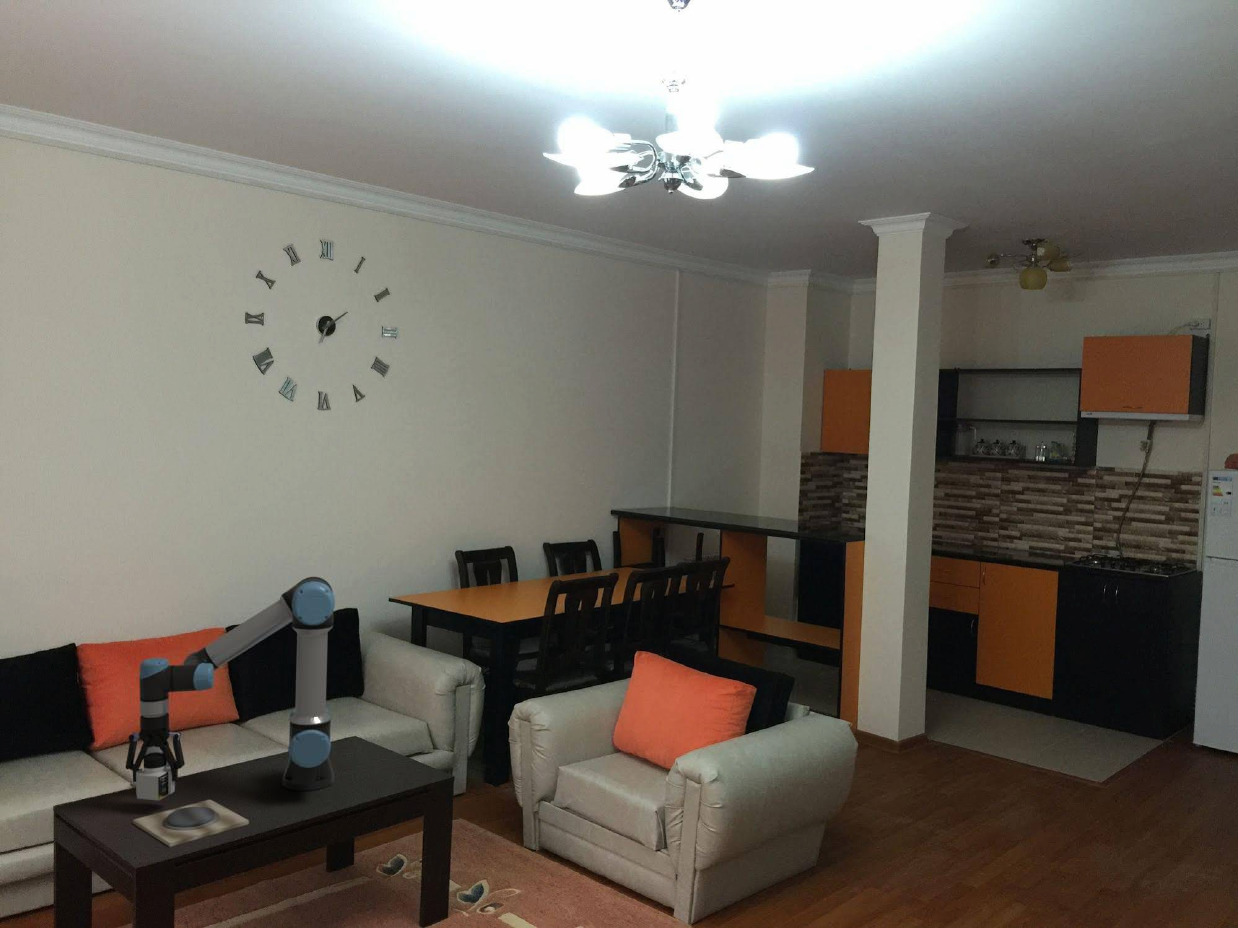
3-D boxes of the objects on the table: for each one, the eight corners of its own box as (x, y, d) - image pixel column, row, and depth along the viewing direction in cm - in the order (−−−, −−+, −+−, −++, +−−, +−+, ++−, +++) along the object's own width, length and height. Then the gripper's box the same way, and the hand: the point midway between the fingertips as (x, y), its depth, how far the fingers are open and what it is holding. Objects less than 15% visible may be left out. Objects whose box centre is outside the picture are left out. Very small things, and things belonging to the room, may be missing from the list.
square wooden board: (210, 802, 299) (210, 794, 299) (248, 823, 284) (248, 814, 284) (133, 823, 282) (133, 814, 282) (169, 846, 268) (170, 837, 268)
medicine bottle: (158, 800, 288) (158, 758, 288) (136, 798, 290) (135, 756, 289) (174, 791, 295) (174, 750, 295) (152, 789, 297) (152, 748, 296)
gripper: (197, 709, 296) (197, 787, 297) (122, 710, 294) (123, 788, 296) (187, 717, 288) (188, 796, 289) (110, 717, 287) (112, 797, 288)
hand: (155, 792), depth 292 cm, fingers closed on medicine bottle, 8 cm apart
